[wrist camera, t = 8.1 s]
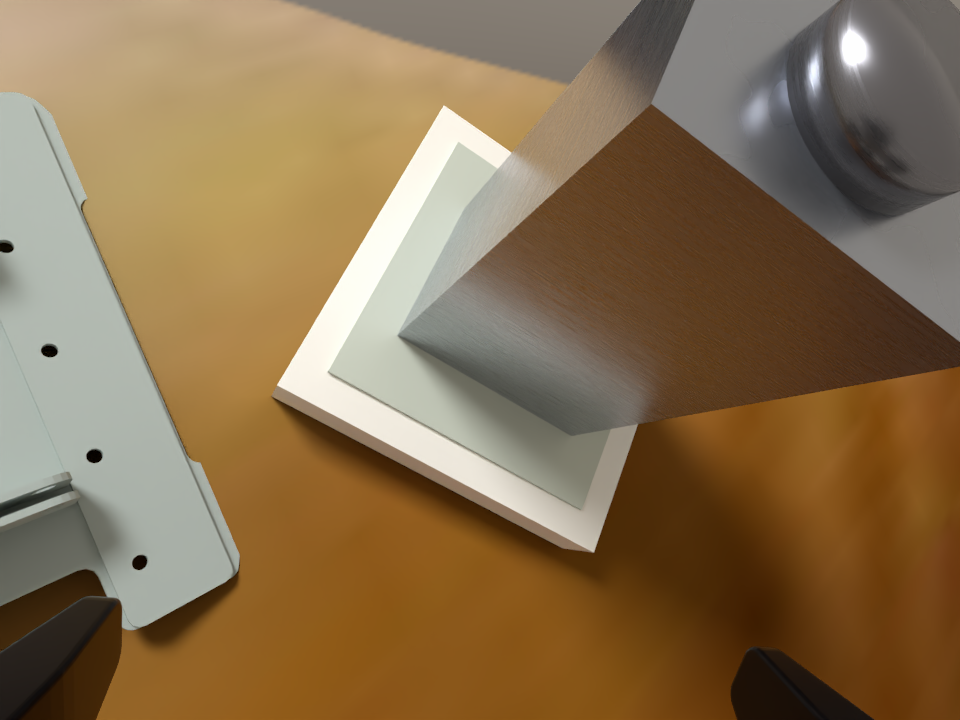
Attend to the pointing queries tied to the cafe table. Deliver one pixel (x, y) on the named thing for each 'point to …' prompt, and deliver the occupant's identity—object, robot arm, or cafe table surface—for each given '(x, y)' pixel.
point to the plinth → (444, 367)
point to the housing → (717, 217)
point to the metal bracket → (85, 407)
